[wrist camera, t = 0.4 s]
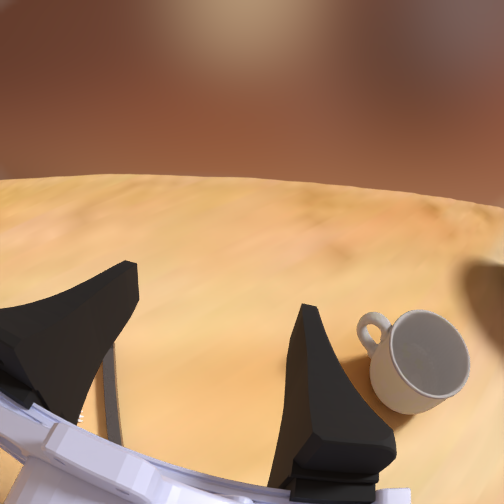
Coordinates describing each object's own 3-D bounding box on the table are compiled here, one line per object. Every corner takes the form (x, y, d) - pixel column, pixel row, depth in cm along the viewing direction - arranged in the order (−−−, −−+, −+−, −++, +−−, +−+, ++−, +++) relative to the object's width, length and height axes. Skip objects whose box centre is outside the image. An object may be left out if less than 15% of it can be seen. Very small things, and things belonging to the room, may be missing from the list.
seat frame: (140, 531, 18) (138, 531, 17) (-45, 505, 11) (-50, 503, 11) (114, 343, 32) (113, 338, 31) (-34, 345, 25) (-38, 340, 25)
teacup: (444, 383, 33) (481, 349, 28) (406, 443, 27) (451, 415, 22) (370, 319, 40) (396, 278, 35) (320, 366, 34) (347, 324, 29)
